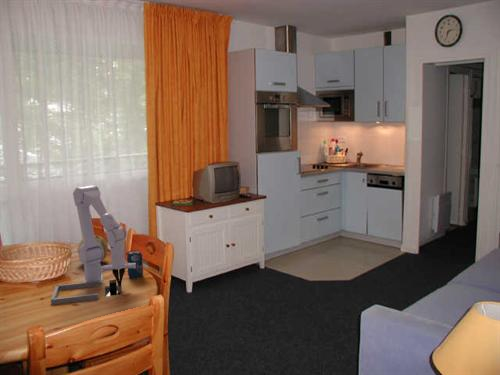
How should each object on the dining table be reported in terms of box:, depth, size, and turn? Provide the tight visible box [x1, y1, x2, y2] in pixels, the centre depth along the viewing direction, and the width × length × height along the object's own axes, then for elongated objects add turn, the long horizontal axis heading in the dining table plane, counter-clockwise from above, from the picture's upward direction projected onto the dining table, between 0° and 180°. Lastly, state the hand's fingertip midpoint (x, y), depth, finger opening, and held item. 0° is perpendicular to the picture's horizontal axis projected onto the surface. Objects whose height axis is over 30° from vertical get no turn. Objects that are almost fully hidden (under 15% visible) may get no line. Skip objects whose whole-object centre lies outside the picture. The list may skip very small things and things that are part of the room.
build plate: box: [104, 279, 123, 297], centre depth 211 cm, size 12×7×5 cm, turn 16°
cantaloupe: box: [77, 234, 109, 263], centre depth 249 cm, size 15×15×15 cm
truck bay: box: [50, 281, 101, 305], centre depth 208 cm, size 17×18×2 cm
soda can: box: [126, 249, 144, 280], centre depth 228 cm, size 7×7×12 cm
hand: (119, 285), depth 212 cm, fingers closed
